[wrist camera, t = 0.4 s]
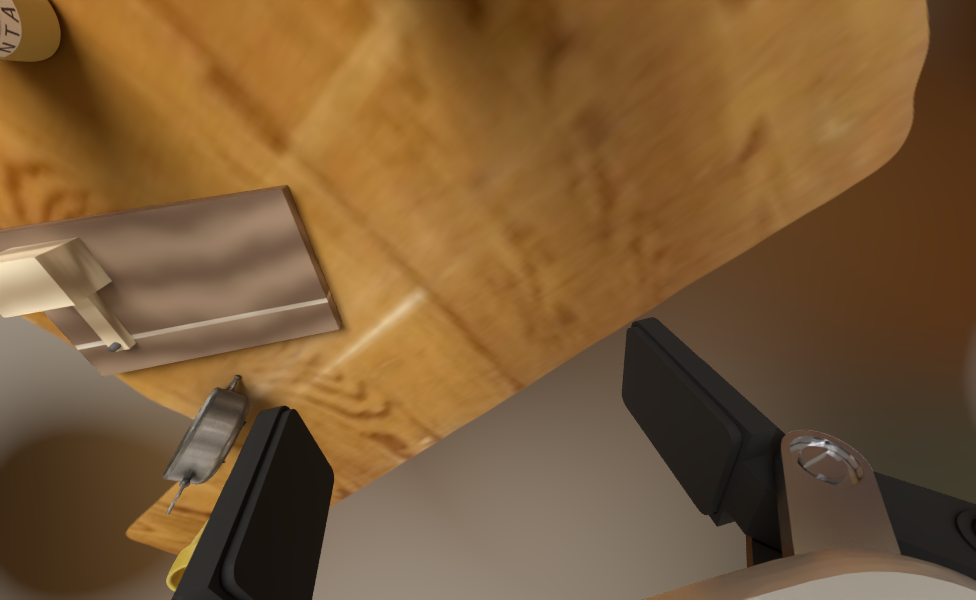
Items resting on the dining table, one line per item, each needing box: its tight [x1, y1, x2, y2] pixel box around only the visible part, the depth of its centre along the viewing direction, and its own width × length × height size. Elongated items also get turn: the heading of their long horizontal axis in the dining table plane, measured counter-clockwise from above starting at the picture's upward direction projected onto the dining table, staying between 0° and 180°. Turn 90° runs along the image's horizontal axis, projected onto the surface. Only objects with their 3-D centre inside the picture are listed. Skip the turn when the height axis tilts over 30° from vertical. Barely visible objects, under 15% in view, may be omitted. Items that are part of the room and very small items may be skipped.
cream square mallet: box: [0, 237, 136, 352], centre depth 36 cm, size 13×6×5 cm, turn 7°
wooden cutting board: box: [0, 185, 341, 377], centre depth 41 cm, size 18×28×2 cm, turn 97°
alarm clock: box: [163, 375, 249, 514], centre depth 44 cm, size 11×5×16 cm, turn 139°
